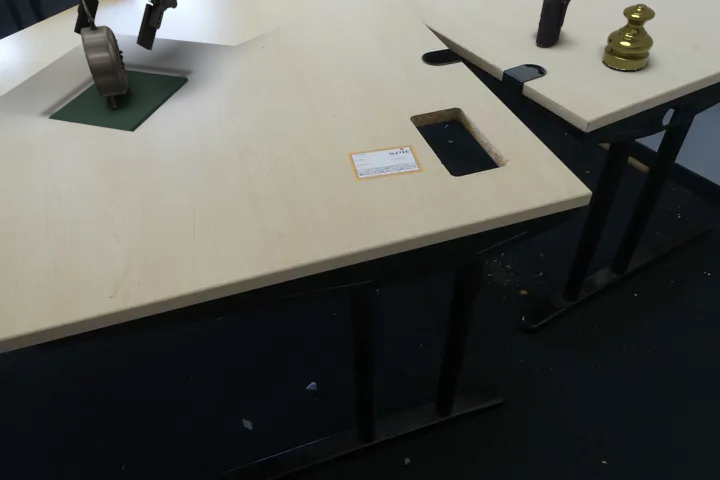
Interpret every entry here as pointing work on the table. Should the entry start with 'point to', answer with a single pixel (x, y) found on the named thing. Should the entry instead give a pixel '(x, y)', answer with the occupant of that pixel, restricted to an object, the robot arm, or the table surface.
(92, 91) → the desk mat
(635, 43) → the gold round tapered piece
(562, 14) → the two-way radio
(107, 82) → the alarm clock
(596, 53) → the table surface
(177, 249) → the table surface
